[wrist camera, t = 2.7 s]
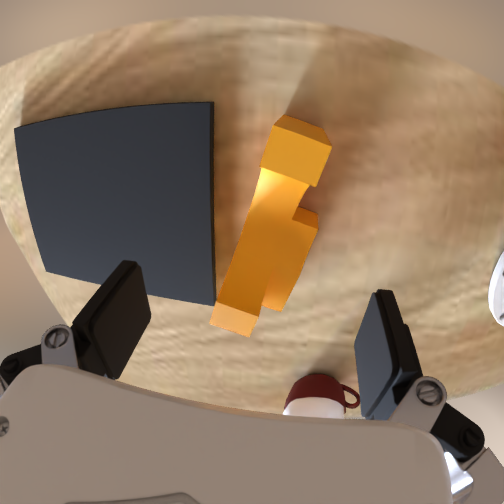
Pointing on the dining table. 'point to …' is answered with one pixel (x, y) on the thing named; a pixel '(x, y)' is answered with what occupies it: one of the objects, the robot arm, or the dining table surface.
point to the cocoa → (319, 398)
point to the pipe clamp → (274, 227)
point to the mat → (125, 195)
